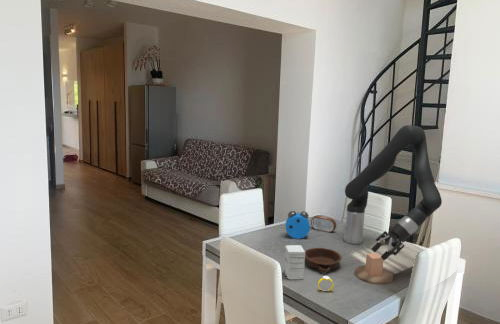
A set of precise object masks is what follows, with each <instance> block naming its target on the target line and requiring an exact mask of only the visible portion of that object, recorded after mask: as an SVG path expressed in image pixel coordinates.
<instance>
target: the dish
mask: <svg viewBox="0 0 500 324" xmlns="http://www.w3.org/2000/svg"><path fill="white" fill-rule="evenodd" d="M304 251H305V262H306V265H308V266H309V267H311V268H313V269H315V270H318V271H319V272H321V273H323V274H327V273H328V272H329V271H333V270H335V269H337V268H338V267H339V265H340V262H341V261H342V259H343V257H342V255H341V254H340V253H339V252H337V251H336V250H333V249H331V248H330V249H329V248H324V247H323V248H322V247H313V248H309V249H306V250H304Z"/></svg>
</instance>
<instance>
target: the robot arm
mask: <svg viewBox="0 0 500 324" xmlns="http://www.w3.org/2000/svg"><path fill="white" fill-rule="evenodd" d="M427 144H428V143H427V136H426V133H425V130H424V129H423V128H422V127H421V126H417V125H412V124H411V125H410V124H406V125H403V126H402V127H400V128H399V130H397V132H396V133H395V134H394V136H393V137H392V138H391V140H390V141H389V142H388V143H387V144H386V145H385V146H384V148H383V149H381V151H380V152H379V153H378V154H377V155H376V156H375V157H374V158H373V159H371V161H370V162H369V163H368V164H367V165H366V167H365V168H364V169H362V171H361V172H360V173H359V174H358V175H357V176H356V177H354V178H353V179H352V180H351V181H350V182H348V183H347V184H346V186H345V188H344V194H345V195H344V196H346V198H347V199H350V200H351V201H349V203H348V204H347V205H346V217H345V218H346V219H345V223H344V230H343V231H344V232H343V242H346V243H348V244H351V245H361V244H362V243H363V237H364V224H365V213H366V212H365V211H366V208H367V205H368V198H369V185H371V184H372V183H375V182H376V181H378V180H379V179H380V178H382V177H383V176H385V175H386V174H387V173H388V172H390V170H392V168H393V167H394V166H395V163H396V159H397V157H398V155H399V153H401V152H402V150H403V149H405V148H406V147H408V146H410V147H412V149H413V152H414V168H413V170H414V178H415V181H416V183H417V187H418V189H419V190H420V192H421V195H422V199H421V201H419V202H418V204H417V205H416V206H414V208H412V209H411V210H409V211H408V212H407V213H406V215H405V216H403V217H402V218H400V219H399V220H398V221H397V222H396V223H395V224H394V225H393V226H392V227H391V228H390V232H389V233H388V231H386V230H385V231H383V232H382V233H381V234H380V235H379V236H377V237H376V238H375V241H376V243H375V244H374V246H372V247H371V251H372V252H374V253H377V251H379V249H380V248H381V247H382V246H387V250H386V251H385V252H384V253H383V254H382V255H380V256H381V258H382V259H383V261H386V260H387V259H388V258H389V257H390V256H391V255H392V256H394V257H396V256H397V255H398V254H399V253H400V252H401V251H402V250H403V249H404V247H405V244H404V242H406V241H407V240H408V239H409V238H410V237H411V236H412V235H413V234H414V233H416V232H417V229H418V228H419V227H420V226H422V224H424V222H425V221H426V220H427V218H429V217H430V216H431V215H432V214H433V213H434V212H436V210H438V209H439V208H440V207H441V205H442V202H443V201H442V196H441V193H440V191H439V190H438V187H437V185H436V183H435V182H436V181H435V178H434V175H433V172H432V168H431V165H430V159H429V154H428V153H429V152H428V145H427Z"/></svg>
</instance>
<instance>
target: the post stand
mask: <svg viewBox="0 0 500 324" xmlns="http://www.w3.org/2000/svg"><path fill="white" fill-rule="evenodd" d="M365 268H366V264H365V265H359V266H357V267H355V269H354V275H355V277H356V278H357V279H359V280H361V281H363V282H366V283H368V284H373V285H387V284H391V283H392V282H393V280H394V275H393V273H392V272H391V271H389V270H388V269H386V268H384V267H383V270H382V276H370V275H369V274H368V273H367V272H366V271H365Z"/></svg>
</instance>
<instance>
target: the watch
mask: <svg viewBox="0 0 500 324" xmlns="http://www.w3.org/2000/svg"><path fill="white" fill-rule="evenodd" d="M322 281H329V282H331V286H330V288H329V289H330V290H331V291H332V290H333V289H334V281H333V280H332V279H331V278H330V276H329V275H324V276H322V277H321V278H320V279H319V280H318V281H317V286H318V289H319V291H320V290H321V289H322V288H321V287H320V283H322ZM320 288H321V289H320Z"/></svg>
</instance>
